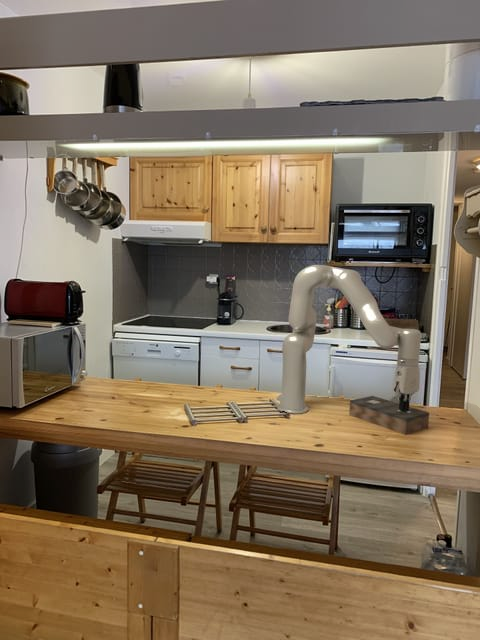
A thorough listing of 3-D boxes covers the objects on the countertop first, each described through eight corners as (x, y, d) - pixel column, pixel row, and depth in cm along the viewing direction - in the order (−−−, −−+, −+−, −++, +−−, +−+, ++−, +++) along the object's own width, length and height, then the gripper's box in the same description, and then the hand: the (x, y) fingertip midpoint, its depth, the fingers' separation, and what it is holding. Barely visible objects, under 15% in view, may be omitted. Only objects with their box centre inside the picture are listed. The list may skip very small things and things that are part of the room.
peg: (365, 415, 193) (366, 401, 192) (371, 414, 195) (372, 399, 194) (373, 418, 189) (374, 403, 189) (380, 417, 192) (381, 402, 191)
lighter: (389, 409, 204) (391, 390, 203) (389, 407, 205) (390, 389, 204) (407, 410, 202) (408, 392, 201) (406, 409, 204) (408, 390, 203)
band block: (349, 415, 193) (350, 400, 192) (371, 409, 201) (372, 395, 200) (405, 434, 172) (406, 418, 171) (428, 428, 180) (429, 412, 180)
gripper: (404, 366, 171) (400, 416, 173) (428, 362, 180) (424, 410, 182) (386, 362, 177) (382, 410, 179) (411, 358, 186) (407, 405, 188)
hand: (403, 410), depth 180 cm, fingers closed
